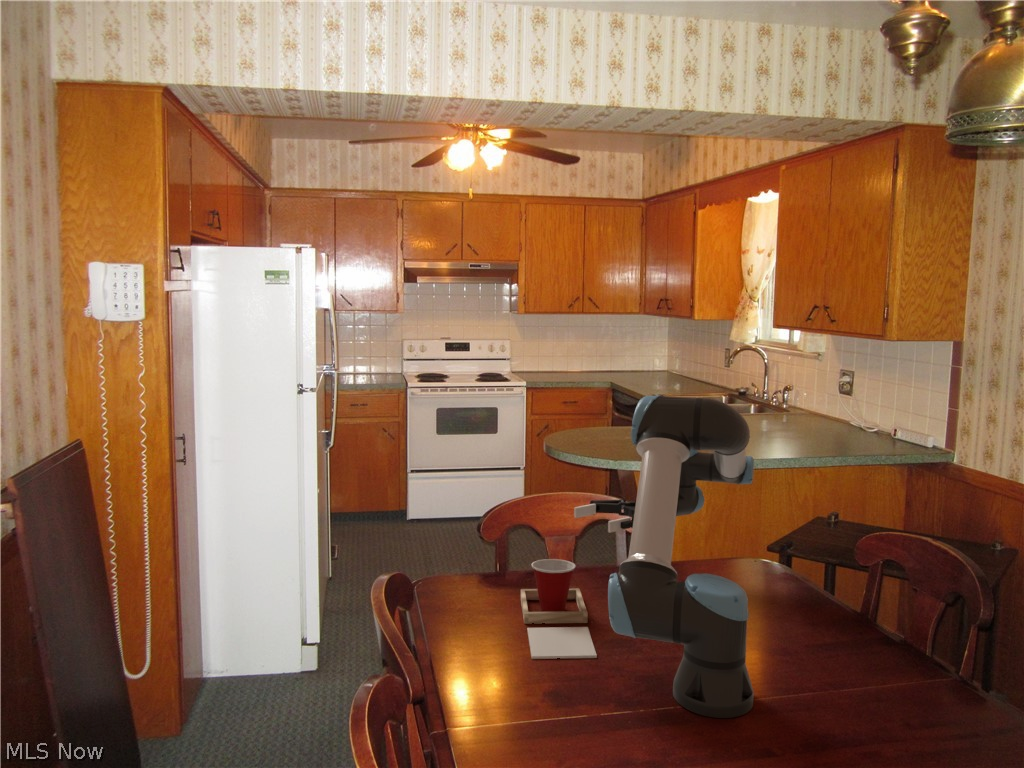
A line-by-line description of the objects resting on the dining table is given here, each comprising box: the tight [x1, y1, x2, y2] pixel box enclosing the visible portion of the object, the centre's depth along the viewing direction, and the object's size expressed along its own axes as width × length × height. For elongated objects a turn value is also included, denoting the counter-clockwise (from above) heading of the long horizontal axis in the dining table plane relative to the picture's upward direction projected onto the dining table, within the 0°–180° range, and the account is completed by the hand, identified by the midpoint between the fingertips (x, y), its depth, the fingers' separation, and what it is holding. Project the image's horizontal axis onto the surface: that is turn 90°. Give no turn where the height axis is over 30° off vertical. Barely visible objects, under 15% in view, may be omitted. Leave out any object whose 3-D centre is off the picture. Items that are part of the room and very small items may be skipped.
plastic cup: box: [530, 558, 577, 612], centre depth 191 cm, size 11×11×12 cm
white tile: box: [526, 626, 598, 660], centre depth 174 cm, size 14×14×1 cm
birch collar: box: [520, 587, 589, 625], centre depth 192 cm, size 15×15×2 cm
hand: (591, 519), depth 195 cm, fingers open, 13 cm apart
